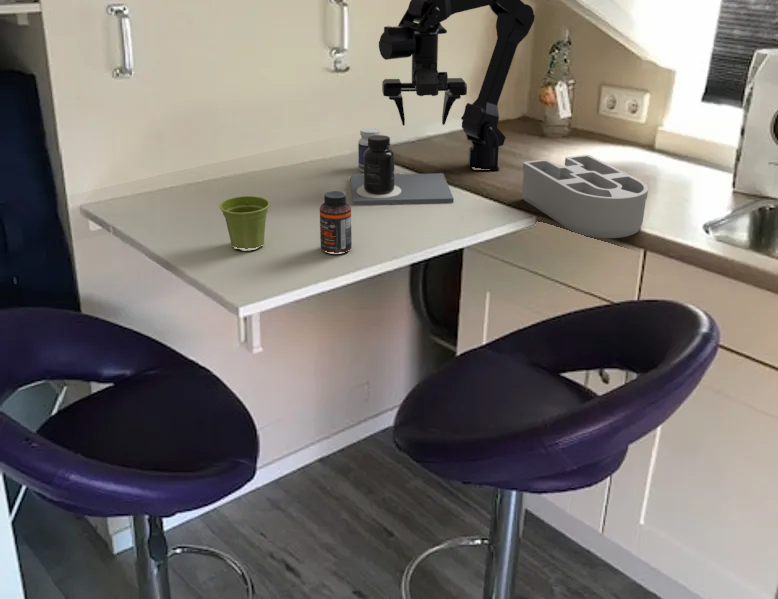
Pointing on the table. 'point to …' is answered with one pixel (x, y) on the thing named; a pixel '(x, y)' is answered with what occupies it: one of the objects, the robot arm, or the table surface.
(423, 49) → the robot arm
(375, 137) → the supplement bottle
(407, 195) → the board
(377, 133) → the pill bottle
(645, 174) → the table surface
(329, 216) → the supplement bottle
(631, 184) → the grey compartment organizer
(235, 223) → the plant pot
